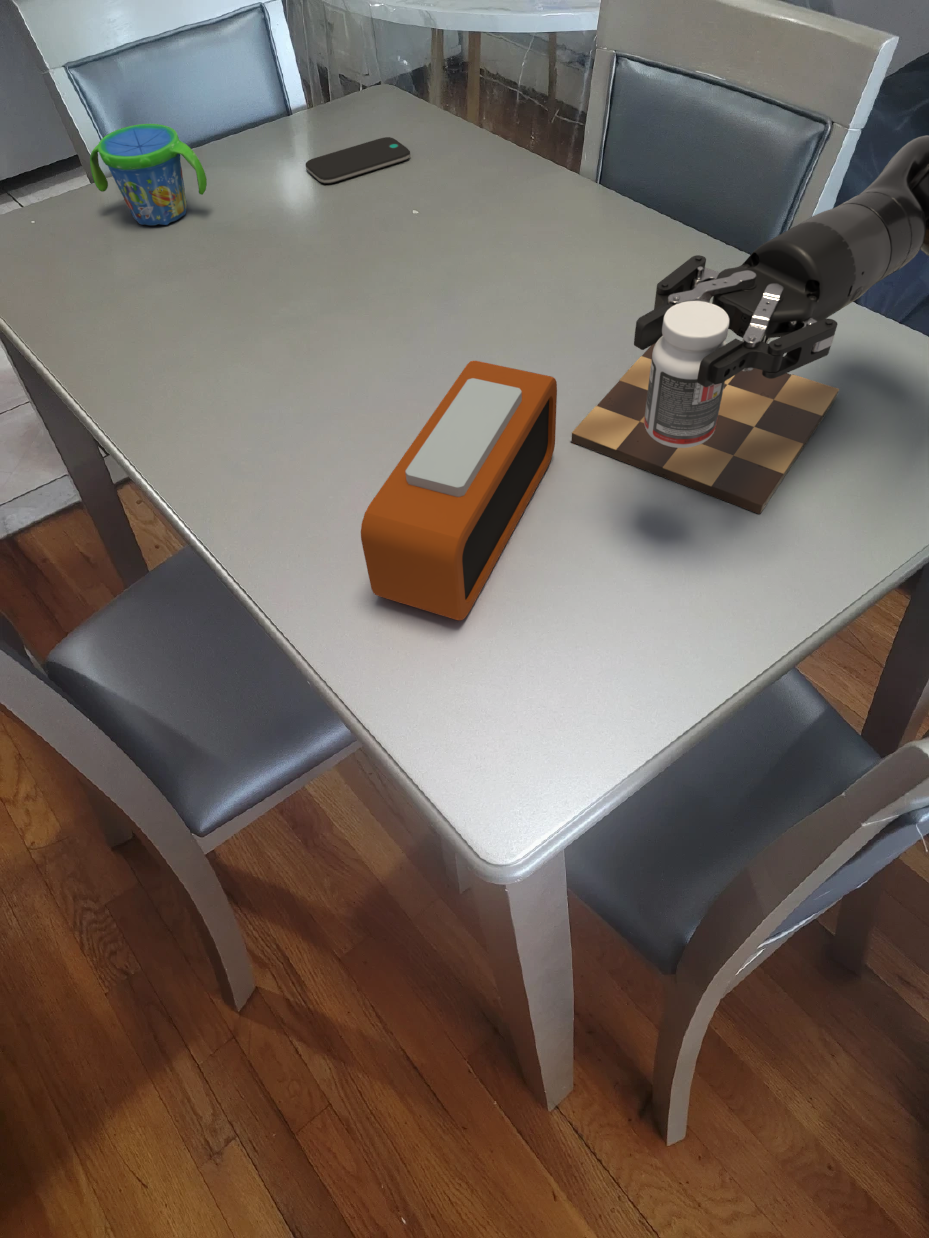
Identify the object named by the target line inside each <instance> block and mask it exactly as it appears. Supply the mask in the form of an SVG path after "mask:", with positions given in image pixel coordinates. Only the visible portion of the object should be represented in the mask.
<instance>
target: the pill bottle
mask: <svg viewBox="0 0 929 1238" xmlns="http://www.w3.org/2000/svg"><path fill="white" fill-rule="evenodd" d="M728 327H729V317H728V315H727V313H726V312H725V311H724V310H723V309H722V308H720V307H719V306H717V305H714V304H712V302H709V303H708V302H702V301H687V302H682V303H679V304H676V305H674V306H672V307H671V308H670V309H668V310H667V312H666V313H665V315H664V320H663V326H662V334H663V336H662V337H661V338H660V339H659V340H658V341H657V342H656V344H655V346H654V349H653V353H652V360H651V368H650V376H649V384H648V393H647V401H646V410H645V418H644V424H645V428H646V430H647V432H648V434H649V435H650V436H651V437H652V438H653V439H654V440H656V441H657V442H659V443H661V444H663V445H666V446H670V447H676V448H688V447H693V446H697V445H700V444H702V443H704V442H705V441H707V440H708V439H709V438H710V437H711V436H712V434H713V433H714V431H715V428H716V424H717V419H718V414H719V409H720V404H721V399H722V394H723V389H724V384H725V382H723V383H720V384H716V385H715V384H712V385H710V386H709V387H704V386H702V385H700V384H699V383H697V378H698V372H699V366H700V363H701V361H702V360H703V358H704V357H706V356H707V355H709V354H711V353H712V352H714V351H716V350H717V349H719V348H721V347H722V346H724V345H726V344H727V342H726V340H727V338H728V333H729V329H728Z"/></svg>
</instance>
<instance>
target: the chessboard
mask: <svg viewBox="0 0 929 1238" xmlns="http://www.w3.org/2000/svg"><path fill="white" fill-rule="evenodd" d="M655 344H656V343H655ZM655 344H653V345H651V346H650V347H648V348H646V350H645V352H644V353H642V355H641V356H639V357H638V359H637V360H636V361H635V362H634V363H633V364H632V365H631V366H630V367H629V369H628V370H627V371H626V372H625V373H624V374H623V375H622V376H621V378H620V379H619V380H618V381H617V382H616V384H615V385H614V386H613V387H612V388H611V389H610V390H609V391H608V392H607V393H606V395H604V397H603V398H602V399H601V400H600V401H599V402H598V403H597V404H596V405H595V406H593V408H592V409H591V411H589V413H588V414H587V415H586V416H585V417H584V418H583V419H582V420H581V422H580V423H578V425H577V426H576V427H575V428H574V429H573V430H572V432H571V439H570V440H571V443H572V444H575V445H578V446H581V447H583V448H586V449H589V450H591V451H594V452H596V453H599V454H602V455H604V456H607V457H609V458H612V459H615V460H617V461H620V462H623V463H625V464H628V465H630V466H633V467H635V468H638V469H641V470H644V471H646V472H648V473H651V474H653V475H656V476H659V477H661V478H664V479H667V480H669V481H672V482H674V483H677V484H680V485H682V486H685V487H688V488H690V489H692V490H695V491H698V492H701V493H703V494H706V495H709V496H711V497H713V498H716V499H719V500H722V501H723V502H726V503H729V504H732V505H733V506H736V507H739V508H742V509H744V510H746V511H750V512H752V513H755V514H757V515H761V514H762V512H763V511H764V509H766V506H767V505H768V503H769V502H770V500H771V498H772V497H773V496H774V494H775V493H776V491H777V490H778V488H779V487H780V485H781V483H782V482H783V480H784V479H785V477H786V476H787V474H788V473H789V471H790V469H791V468H792V467H793V465H794V463H795V462H796V460H797V459H798V457H800V454H801V453H802V452H803V450H804V448H805V446H806V445H807V444H808V442H809V440H810V439H811V438H812V436H813V435H814V433H815V431H816V430H817V429H818V427H819V425H820V424H821V423H822V421H823V419H824V418H825V416H826V415H827V413H828V412H829V410H830V409H831V407H832V406H833V404H834V402H836V400H837V397H838V394H839V392H840V388H838V387H836V386H835V387H834V386H831V385H828V384H825V383H822V382H819V381H815V380H812V379H809V378H806V377H802V376H800V375H797V374H793V373H789V372H788V373H786V374H783V375H781V376H779V377H777V378H773V379H770V378H766V377H764V376H763V375H762V370H760V369H756V368H753V370H751V371H741V372H739V373H737V374H736V375H734V376H733V377H731V378H729V379H727V380H726V381H725V384H724V389H723V394H722V399H721V404H720V409H719V414H718V419H717V424H716V428H715V431H714V433H713V434H712V436H711V437H710V438H709V439H708V440H707V441H705V442H704V443H702V444H700V445H697V446H693V447H688V448H676V447H670V446H666V445H663V444H661V443H659V442H657V441H656V440H654V439H653V438H652V437H651V436H650V435H649V434H648V432H647V430H646V428H645V424H644V418H645V410H646V401H647V393H648V384H649V376H650V368H651V360H652V353H653V349H654V346H655Z"/></svg>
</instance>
